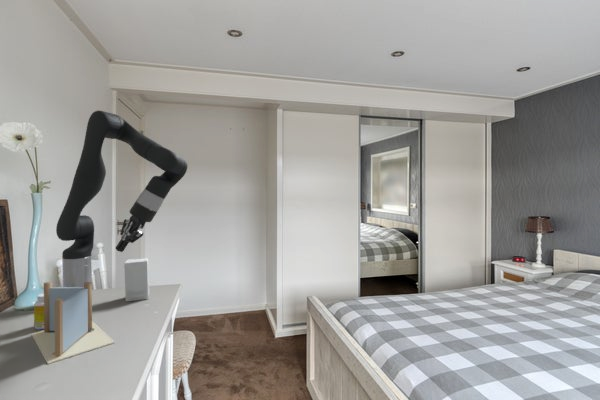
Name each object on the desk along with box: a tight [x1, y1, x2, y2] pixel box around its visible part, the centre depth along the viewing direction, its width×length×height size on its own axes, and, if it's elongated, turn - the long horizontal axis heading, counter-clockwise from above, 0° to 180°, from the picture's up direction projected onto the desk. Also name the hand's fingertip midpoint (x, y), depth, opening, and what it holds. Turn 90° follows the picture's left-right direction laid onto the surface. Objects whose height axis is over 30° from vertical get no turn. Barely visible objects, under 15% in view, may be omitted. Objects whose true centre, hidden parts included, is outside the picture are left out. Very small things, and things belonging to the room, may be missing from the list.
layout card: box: [31, 320, 115, 365], centre depth 91 cm, size 23×15×1 cm, turn 48°
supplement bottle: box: [33, 292, 44, 330], centre depth 99 cm, size 6×6×10 cm
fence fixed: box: [43, 281, 93, 333], centre depth 95 cm, size 14×2×15 cm, turn 94°
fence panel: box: [55, 289, 88, 356], centre depth 87 cm, size 14×1×14 cm, turn 9°
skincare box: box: [123, 257, 150, 302], centre depth 125 cm, size 8×7×16 cm
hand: (118, 250), depth 103 cm, fingers closed
